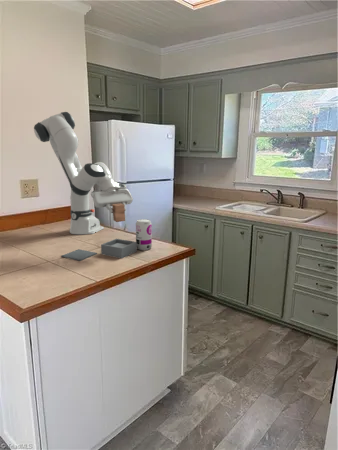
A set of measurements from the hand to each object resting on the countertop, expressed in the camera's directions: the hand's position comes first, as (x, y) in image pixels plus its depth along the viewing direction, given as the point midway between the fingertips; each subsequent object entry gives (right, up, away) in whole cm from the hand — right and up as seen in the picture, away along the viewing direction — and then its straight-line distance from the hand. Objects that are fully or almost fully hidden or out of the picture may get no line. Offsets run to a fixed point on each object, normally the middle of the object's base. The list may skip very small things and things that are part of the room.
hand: (118, 211), depth 164 cm
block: (0, -4, +1) cm, 4 cm away
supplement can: (+12, -19, +13) cm, 26 cm away
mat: (-19, -22, 0) cm, 29 cm away
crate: (0, -21, +4) cm, 22 cm away
